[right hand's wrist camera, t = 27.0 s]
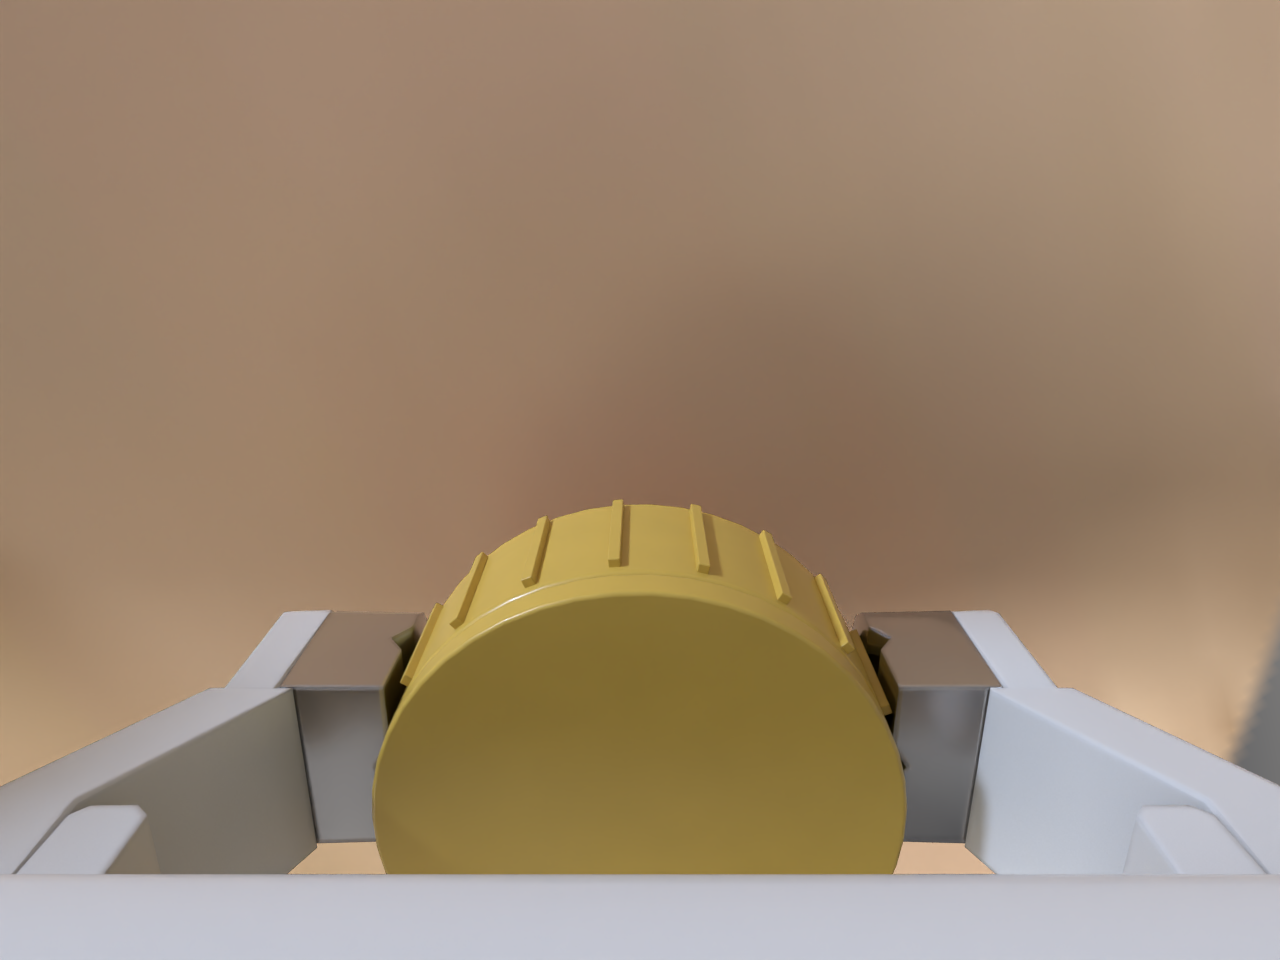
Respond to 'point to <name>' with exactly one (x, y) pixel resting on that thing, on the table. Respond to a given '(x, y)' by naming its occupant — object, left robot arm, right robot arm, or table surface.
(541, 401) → the table surface
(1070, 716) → the right robot arm
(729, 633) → the lid
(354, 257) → the table surface
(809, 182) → the table surface
